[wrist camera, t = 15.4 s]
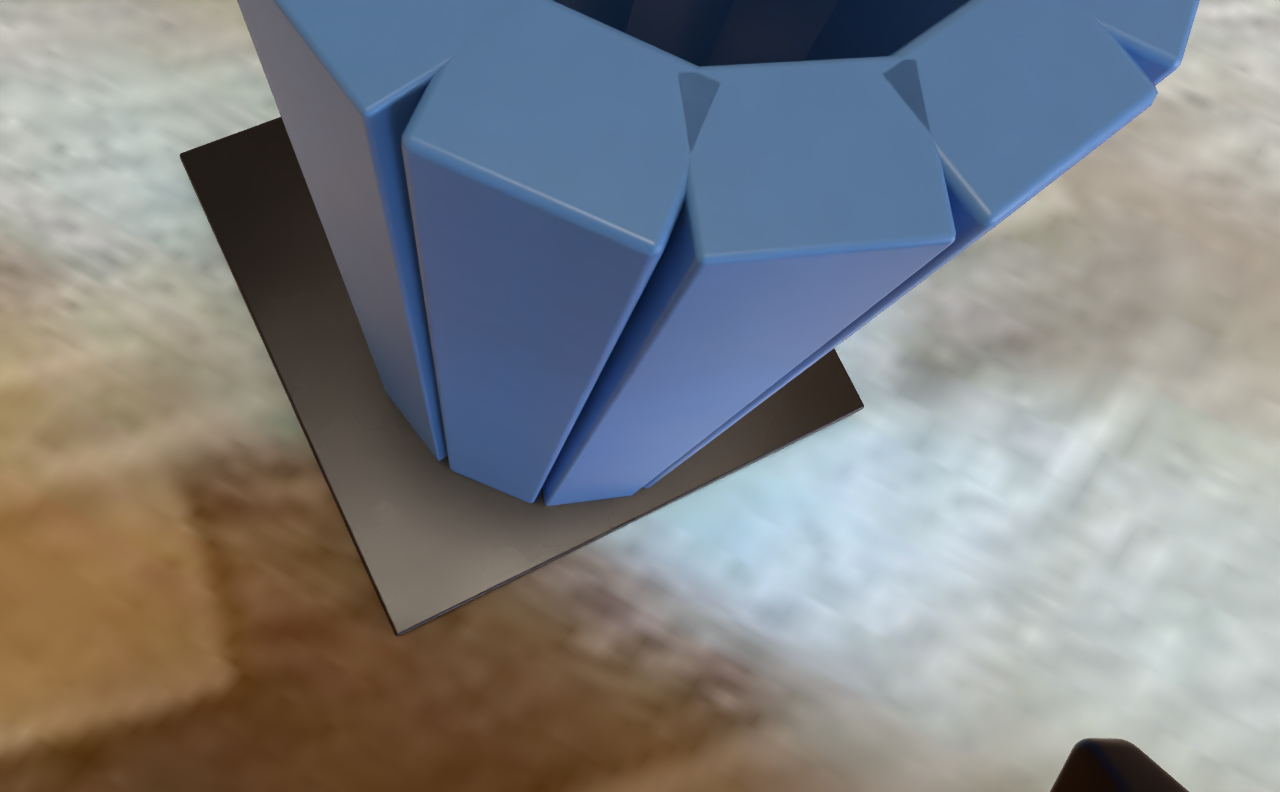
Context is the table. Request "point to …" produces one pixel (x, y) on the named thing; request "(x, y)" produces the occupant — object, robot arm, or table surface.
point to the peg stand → (383, 438)
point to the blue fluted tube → (667, 193)
